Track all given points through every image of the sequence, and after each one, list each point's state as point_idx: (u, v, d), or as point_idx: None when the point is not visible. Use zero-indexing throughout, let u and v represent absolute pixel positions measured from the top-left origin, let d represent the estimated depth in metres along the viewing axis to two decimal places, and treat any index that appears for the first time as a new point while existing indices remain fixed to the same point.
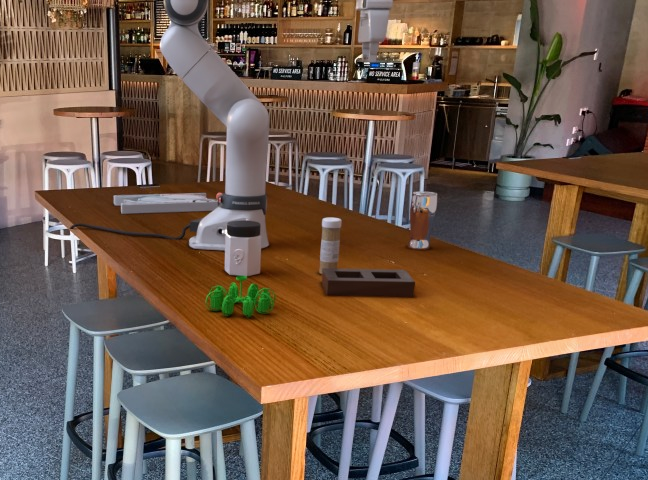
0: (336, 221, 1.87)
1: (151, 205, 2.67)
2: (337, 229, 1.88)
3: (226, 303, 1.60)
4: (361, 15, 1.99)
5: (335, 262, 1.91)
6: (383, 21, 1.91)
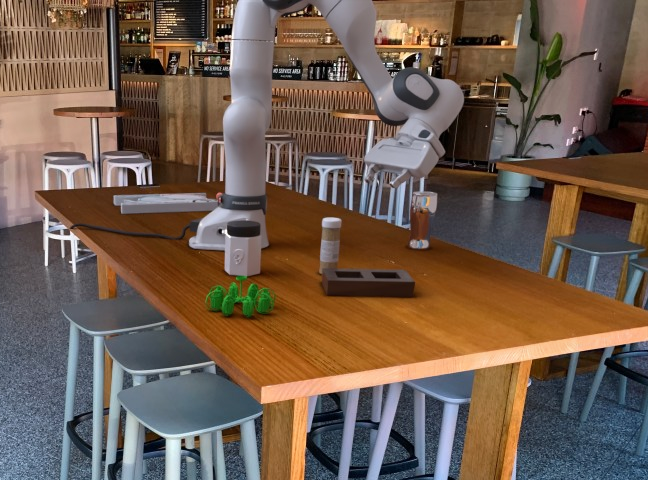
0: (336, 221, 1.87)
1: (151, 205, 2.67)
2: (337, 229, 1.88)
3: (226, 303, 1.60)
4: (403, 141, 1.90)
5: (335, 262, 1.91)
6: (433, 162, 1.85)
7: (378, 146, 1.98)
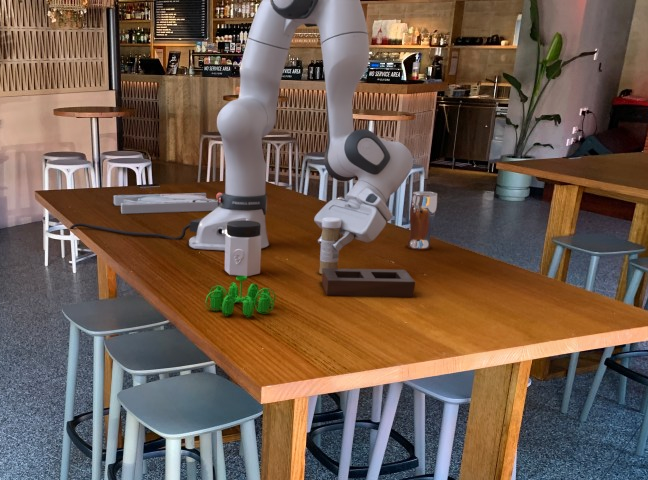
0: (336, 221, 1.87)
1: (151, 205, 2.67)
2: (337, 229, 1.88)
3: (226, 303, 1.60)
4: (352, 204, 1.89)
5: (335, 262, 1.91)
6: (379, 227, 1.84)
7: (328, 206, 1.96)
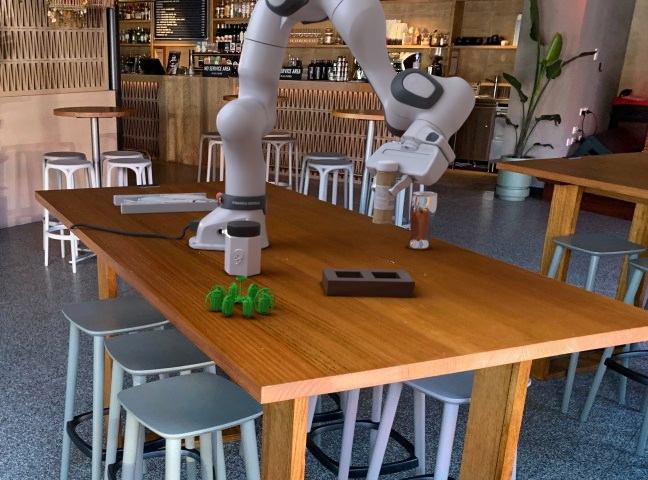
0: (393, 163, 1.70)
1: (151, 205, 2.67)
2: (394, 172, 1.71)
3: (226, 303, 1.60)
4: (409, 145, 1.72)
5: (391, 209, 1.74)
6: (442, 168, 1.67)
7: (381, 150, 1.80)
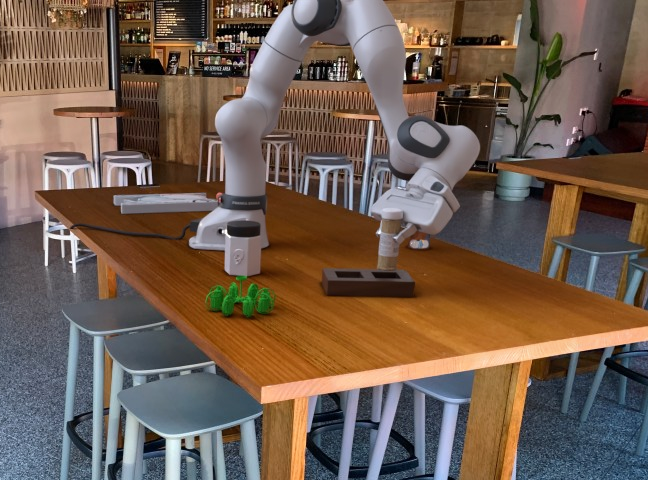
0: (398, 212, 1.72)
1: (151, 205, 2.67)
2: (398, 220, 1.73)
3: (226, 303, 1.60)
4: (414, 193, 1.74)
5: (395, 256, 1.76)
6: (446, 218, 1.69)
7: (386, 196, 1.81)
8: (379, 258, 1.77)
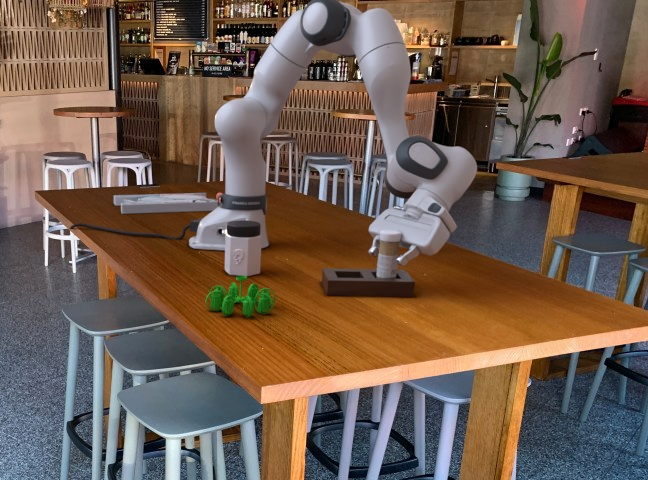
0: (396, 234, 1.73)
1: (151, 205, 2.67)
2: (396, 243, 1.74)
3: (226, 303, 1.60)
4: (412, 213, 1.75)
5: (393, 278, 1.78)
6: (443, 239, 1.70)
7: (384, 216, 1.83)
8: None
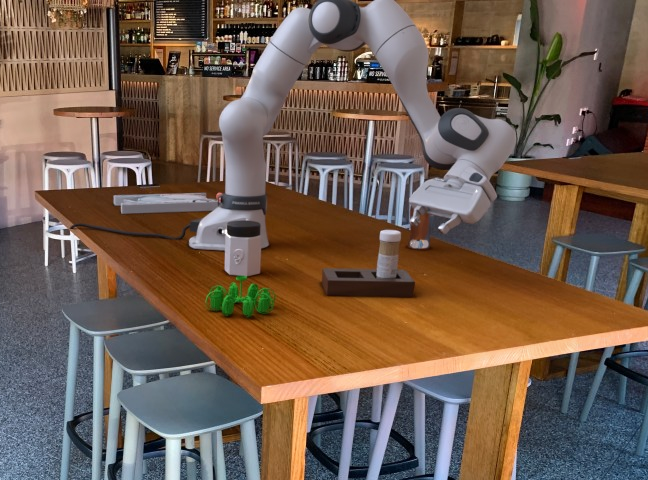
0: (396, 234, 1.73)
1: (151, 205, 2.67)
2: (396, 243, 1.74)
3: (226, 303, 1.60)
4: (453, 183, 1.81)
5: (393, 278, 1.78)
6: (485, 207, 1.76)
7: (424, 187, 1.88)
8: None
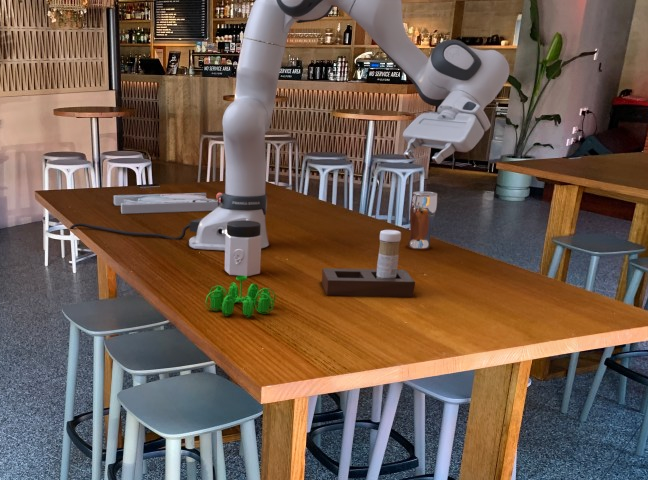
0: (396, 234, 1.73)
1: (151, 205, 2.67)
2: (396, 242, 1.74)
3: (226, 303, 1.60)
4: (446, 114, 1.81)
5: (393, 278, 1.78)
6: (478, 135, 1.76)
7: (418, 120, 1.89)
8: None
